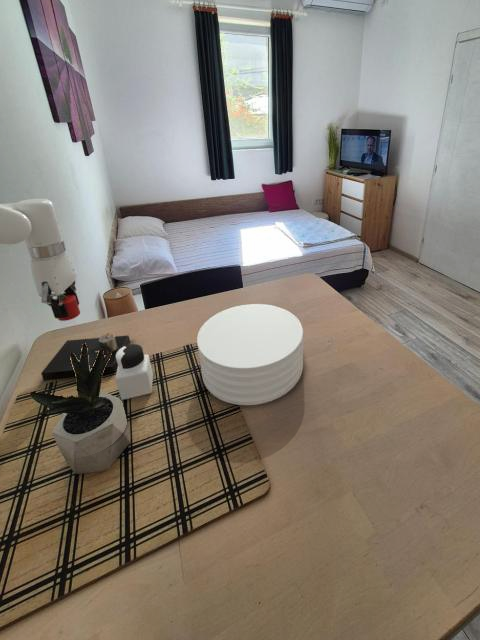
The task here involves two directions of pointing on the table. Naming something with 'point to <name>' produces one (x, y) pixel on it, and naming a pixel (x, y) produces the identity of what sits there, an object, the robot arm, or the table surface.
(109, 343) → the hob knob
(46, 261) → the robot arm
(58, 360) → the hob
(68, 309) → the pepper
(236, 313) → the plate stack
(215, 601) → the table surface
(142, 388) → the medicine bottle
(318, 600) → the table surface
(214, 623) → the table surface
